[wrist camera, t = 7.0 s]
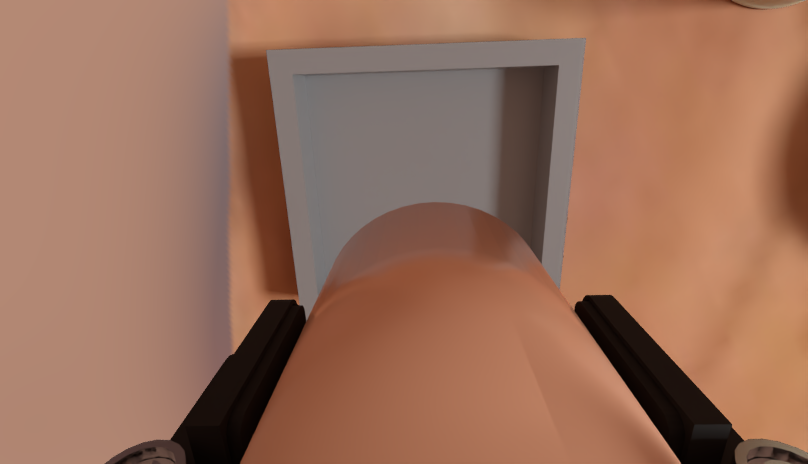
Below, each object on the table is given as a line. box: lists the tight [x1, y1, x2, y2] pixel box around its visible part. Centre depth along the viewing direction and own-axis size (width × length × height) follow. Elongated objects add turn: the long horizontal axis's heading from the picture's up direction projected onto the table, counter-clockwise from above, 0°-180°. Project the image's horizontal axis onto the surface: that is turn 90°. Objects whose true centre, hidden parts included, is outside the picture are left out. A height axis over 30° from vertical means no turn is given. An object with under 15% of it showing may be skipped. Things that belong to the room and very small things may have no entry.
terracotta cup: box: [240, 202, 681, 464], centre depth 8 cm, size 6×6×8 cm
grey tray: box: [266, 38, 586, 321], centre depth 25 cm, size 16×16×4 cm
